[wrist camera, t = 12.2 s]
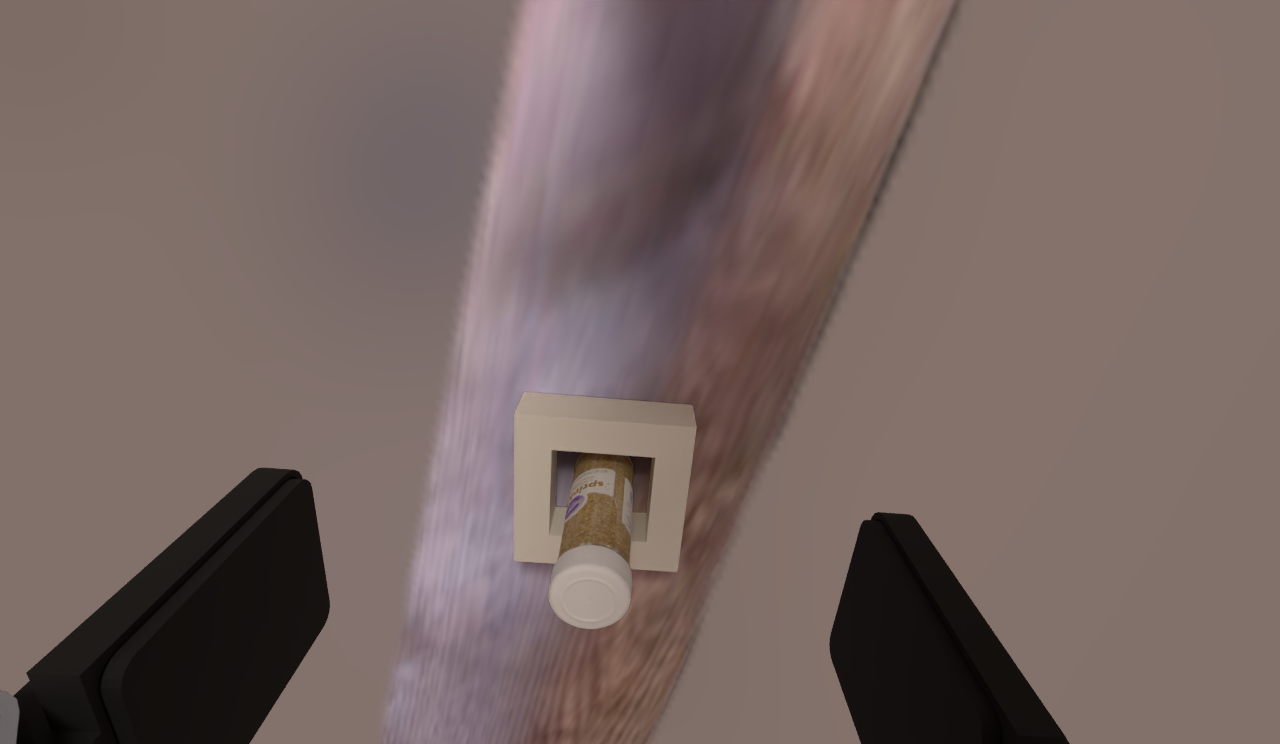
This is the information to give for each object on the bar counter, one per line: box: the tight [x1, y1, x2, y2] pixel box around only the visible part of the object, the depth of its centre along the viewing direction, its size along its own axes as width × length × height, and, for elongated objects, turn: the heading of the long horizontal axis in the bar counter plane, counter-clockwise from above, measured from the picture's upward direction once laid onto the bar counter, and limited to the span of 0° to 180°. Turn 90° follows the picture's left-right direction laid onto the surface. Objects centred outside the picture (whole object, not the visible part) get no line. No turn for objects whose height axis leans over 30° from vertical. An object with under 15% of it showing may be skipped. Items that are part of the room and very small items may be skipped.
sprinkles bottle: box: [548, 452, 634, 629], centre depth 38 cm, size 5×5×14 cm
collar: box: [514, 392, 697, 572], centre depth 43 cm, size 12×12×4 cm
